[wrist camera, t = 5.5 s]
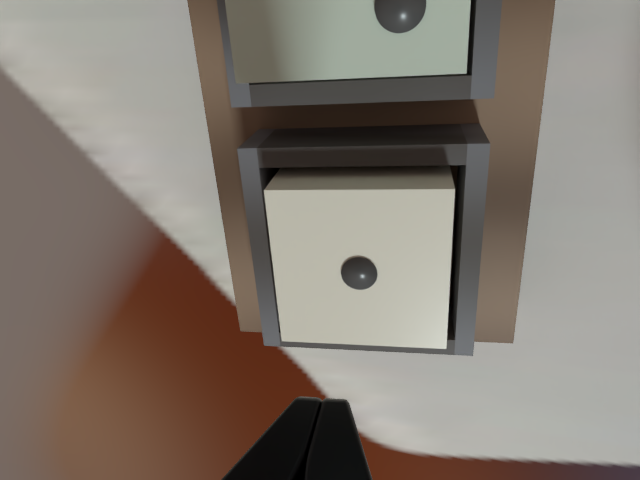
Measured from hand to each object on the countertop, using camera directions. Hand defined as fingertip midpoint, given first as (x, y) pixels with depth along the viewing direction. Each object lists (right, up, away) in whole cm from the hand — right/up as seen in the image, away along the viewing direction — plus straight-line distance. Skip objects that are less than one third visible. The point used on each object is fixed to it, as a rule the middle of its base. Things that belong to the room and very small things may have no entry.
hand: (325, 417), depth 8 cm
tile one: (+1, +3, +6) cm, 7 cm away
